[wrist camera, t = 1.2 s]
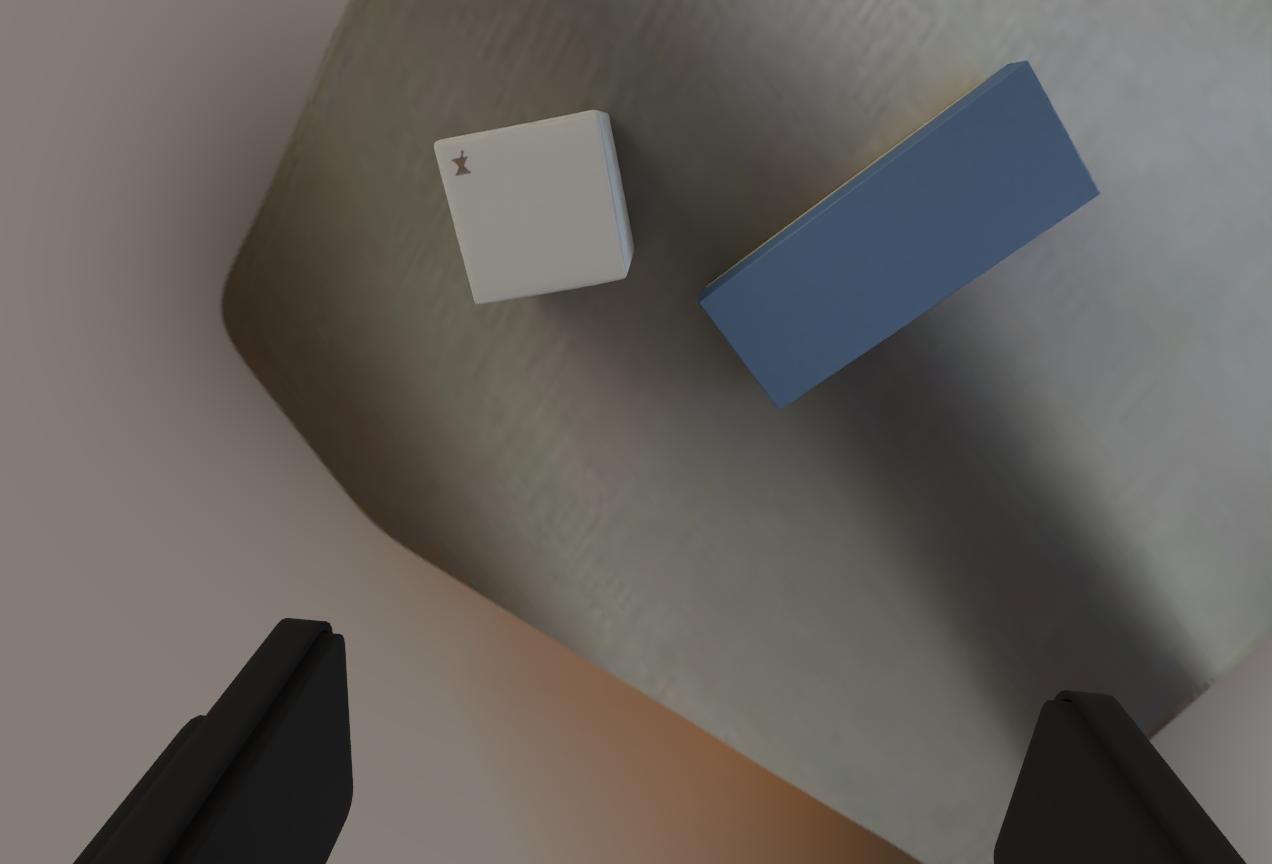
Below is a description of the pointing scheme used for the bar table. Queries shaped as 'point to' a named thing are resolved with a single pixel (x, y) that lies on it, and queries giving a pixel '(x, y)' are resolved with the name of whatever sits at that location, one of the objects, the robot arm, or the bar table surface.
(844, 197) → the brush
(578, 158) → the product box
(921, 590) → the bar table surface
